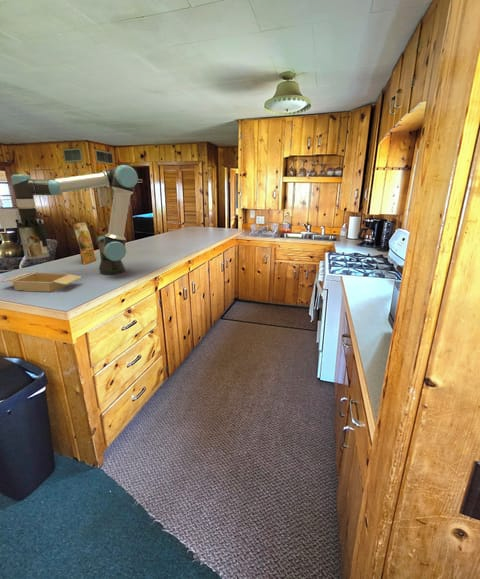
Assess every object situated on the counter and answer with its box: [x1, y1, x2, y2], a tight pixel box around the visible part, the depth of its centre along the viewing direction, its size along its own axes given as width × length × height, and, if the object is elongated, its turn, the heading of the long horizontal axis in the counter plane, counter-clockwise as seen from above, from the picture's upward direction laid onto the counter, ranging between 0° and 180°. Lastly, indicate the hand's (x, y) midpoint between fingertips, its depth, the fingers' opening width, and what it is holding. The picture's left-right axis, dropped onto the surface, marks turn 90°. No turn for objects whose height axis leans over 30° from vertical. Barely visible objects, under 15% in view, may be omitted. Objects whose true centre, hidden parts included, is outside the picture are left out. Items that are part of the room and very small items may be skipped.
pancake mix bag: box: [72, 221, 97, 265], centre depth 209 cm, size 7×19×28 cm, turn 176°
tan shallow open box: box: [12, 272, 71, 293], centre depth 159 cm, size 21×16×5 cm
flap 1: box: [0, 272, 33, 283], centre depth 159 cm, size 1×14×7 cm
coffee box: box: [18, 226, 50, 260], centre depth 152 cm, size 9×6×16 cm
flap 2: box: [53, 273, 83, 286], centre depth 157 cm, size 1×14×7 cm
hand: (36, 252), depth 154 cm, fingers closed on coffee box, 8 cm apart
